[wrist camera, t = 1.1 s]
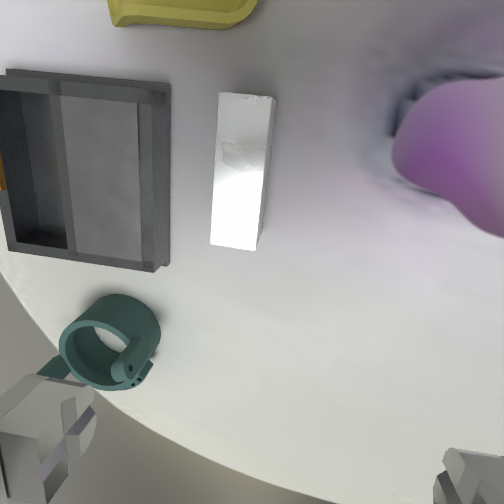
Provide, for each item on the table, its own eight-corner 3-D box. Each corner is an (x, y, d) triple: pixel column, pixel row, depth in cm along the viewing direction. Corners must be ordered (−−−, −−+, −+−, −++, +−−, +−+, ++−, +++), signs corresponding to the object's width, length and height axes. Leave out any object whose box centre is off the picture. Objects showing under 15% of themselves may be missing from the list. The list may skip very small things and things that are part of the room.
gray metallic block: (233, 97, 27) (218, 91, 22) (276, 102, 26) (271, 96, 22) (223, 226, 31) (210, 244, 26) (261, 231, 30) (254, 250, 26)
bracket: (79, 335, 38) (17, 395, 30) (106, 276, 34) (45, 325, 26) (147, 374, 39) (105, 442, 30) (180, 320, 35) (144, 381, 27)
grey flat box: (13, 70, 28) (-36, 60, 24) (170, 84, 27) (146, 77, 23) (39, 244, 34) (4, 260, 30) (169, 263, 33) (151, 282, 29)
